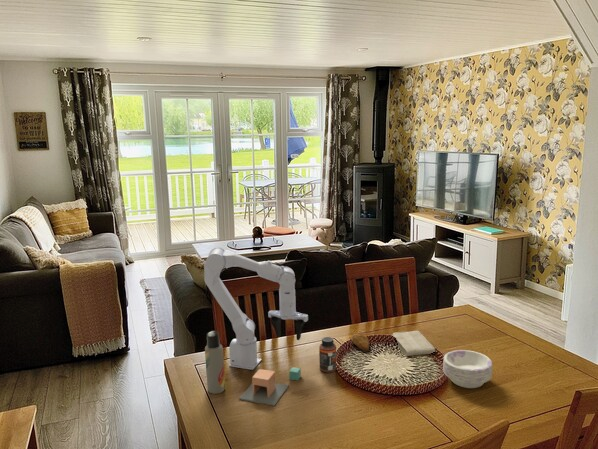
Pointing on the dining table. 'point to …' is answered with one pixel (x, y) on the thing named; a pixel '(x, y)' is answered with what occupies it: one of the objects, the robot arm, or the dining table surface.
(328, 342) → the supplement bottle
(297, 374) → the teal cube
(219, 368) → the lotion bottle
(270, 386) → the terracotta cover
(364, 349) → the croissant
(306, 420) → the dining table surface
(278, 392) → the slate mat
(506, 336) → the dining table surface
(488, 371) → the paper bowls
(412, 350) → the washcloth
